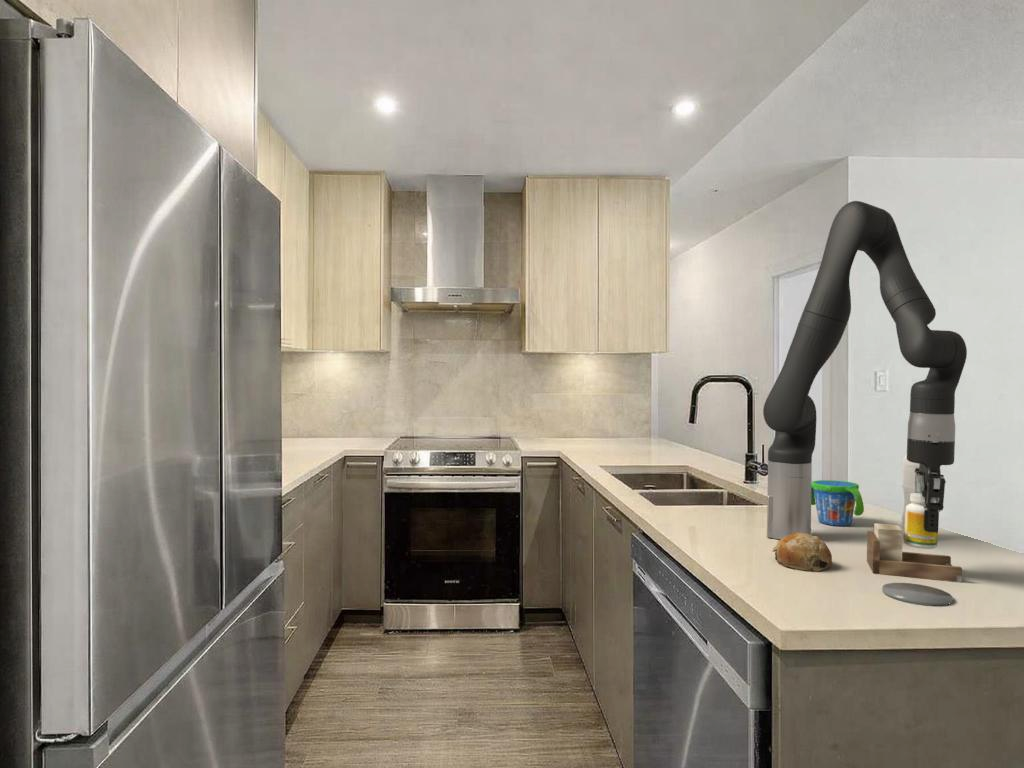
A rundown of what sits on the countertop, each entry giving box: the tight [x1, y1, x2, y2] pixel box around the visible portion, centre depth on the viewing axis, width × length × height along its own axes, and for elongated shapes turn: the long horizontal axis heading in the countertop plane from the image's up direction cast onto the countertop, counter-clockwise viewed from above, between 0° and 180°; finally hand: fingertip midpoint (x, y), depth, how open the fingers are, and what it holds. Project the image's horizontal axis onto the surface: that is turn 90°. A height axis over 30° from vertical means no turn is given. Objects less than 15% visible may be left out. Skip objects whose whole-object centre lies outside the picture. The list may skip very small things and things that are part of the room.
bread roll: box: [772, 533, 833, 573], centre depth 129 cm, size 10×10×8 cm
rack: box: [866, 523, 963, 583], centre depth 125 cm, size 14×9×8 cm, turn 69°
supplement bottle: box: [903, 493, 939, 550], centre depth 125 cm, size 5×5×10 cm
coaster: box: [881, 582, 953, 606], centre depth 111 cm, size 10×10×1 cm
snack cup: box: [811, 479, 865, 527], centre depth 166 cm, size 16×10×10 cm
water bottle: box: [901, 452, 936, 532], centre depth 153 cm, size 7×7×25 cm
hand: (927, 527), depth 124 cm, fingers closed on supplement bottle, 5 cm apart
